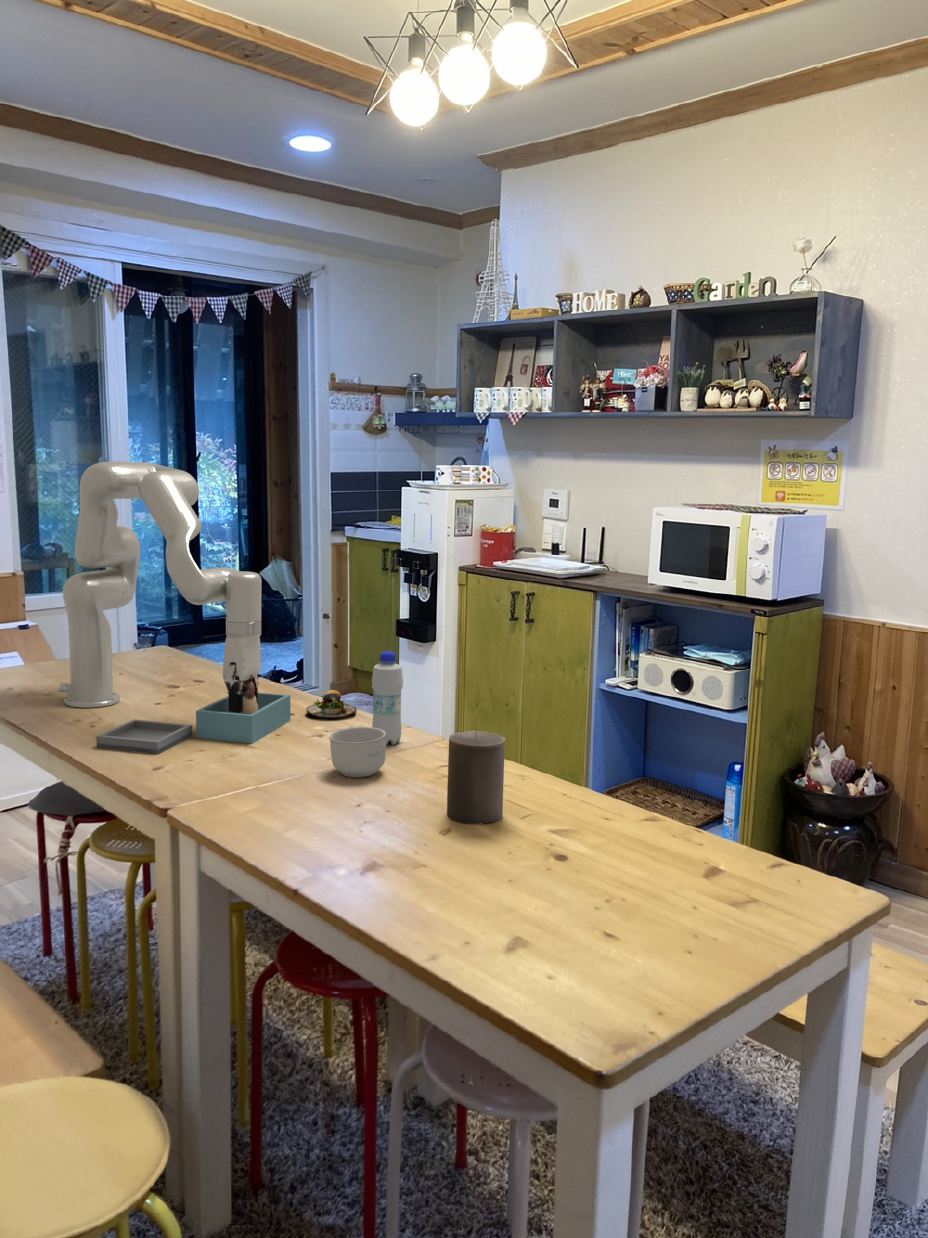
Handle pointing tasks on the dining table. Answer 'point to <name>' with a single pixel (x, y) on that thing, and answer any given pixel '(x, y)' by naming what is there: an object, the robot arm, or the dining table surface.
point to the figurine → (248, 697)
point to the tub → (243, 719)
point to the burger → (331, 706)
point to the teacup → (358, 750)
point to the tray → (144, 736)
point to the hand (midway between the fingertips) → (243, 706)
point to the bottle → (387, 696)
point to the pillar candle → (475, 777)
